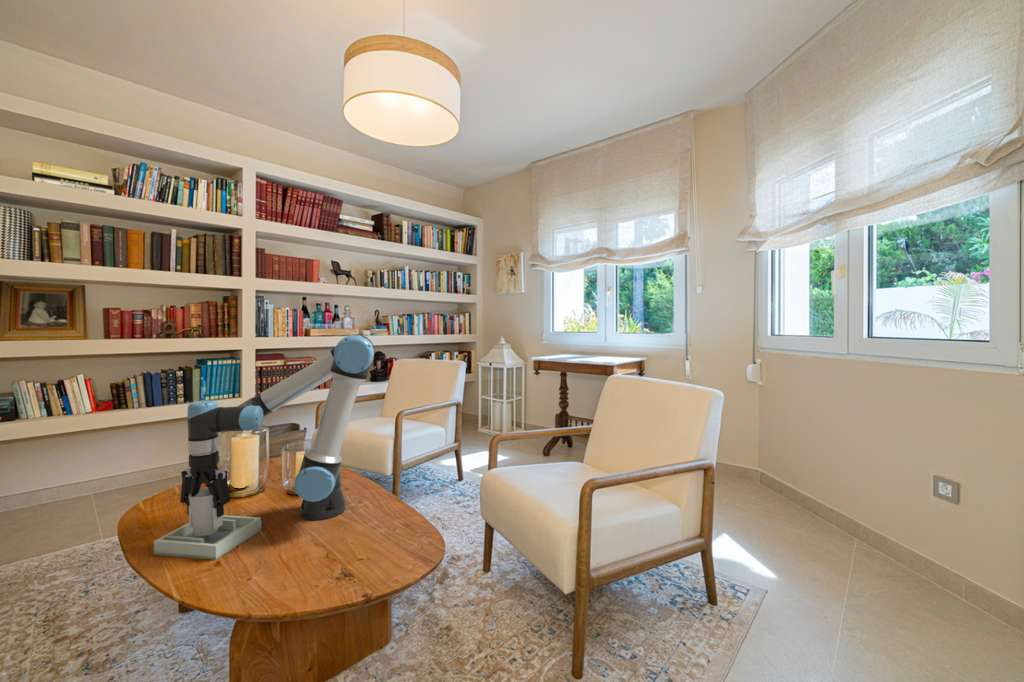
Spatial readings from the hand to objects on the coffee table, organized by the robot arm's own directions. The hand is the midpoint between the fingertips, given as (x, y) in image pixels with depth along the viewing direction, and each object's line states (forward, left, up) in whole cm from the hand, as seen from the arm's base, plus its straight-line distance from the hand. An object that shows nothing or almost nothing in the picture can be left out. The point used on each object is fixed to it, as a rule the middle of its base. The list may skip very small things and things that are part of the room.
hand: (205, 525), depth 133 cm
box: (-2, 0, -5) cm, 5 cm away
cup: (0, 0, -2) cm, 2 cm away
